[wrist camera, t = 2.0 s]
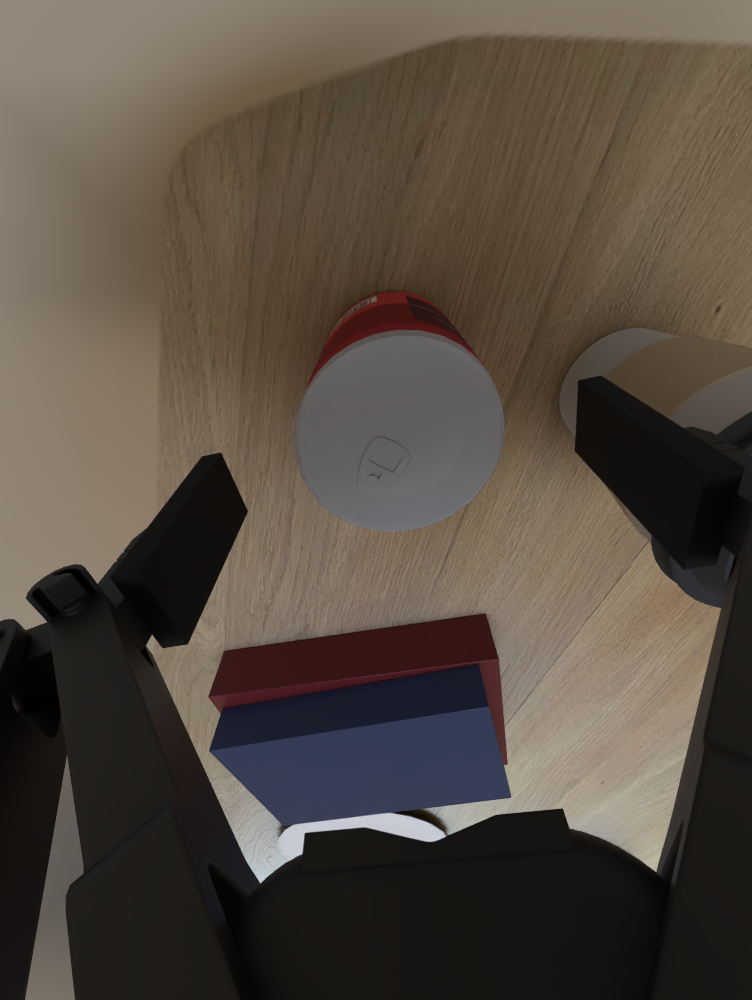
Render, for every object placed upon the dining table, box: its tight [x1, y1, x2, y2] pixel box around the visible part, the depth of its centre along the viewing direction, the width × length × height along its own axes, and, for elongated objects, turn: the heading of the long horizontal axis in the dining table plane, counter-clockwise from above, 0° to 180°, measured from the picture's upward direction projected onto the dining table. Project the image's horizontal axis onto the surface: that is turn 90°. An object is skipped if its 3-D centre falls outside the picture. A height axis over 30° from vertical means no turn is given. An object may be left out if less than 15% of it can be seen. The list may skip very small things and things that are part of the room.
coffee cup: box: [559, 328, 752, 608], centre depth 19 cm, size 9×9×15 cm
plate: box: [278, 812, 447, 861], centre depth 62 cm, size 25×25×2 cm
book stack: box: [208, 614, 511, 826], centre depth 39 cm, size 17×24×8 cm
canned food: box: [295, 291, 505, 532], centre depth 20 cm, size 8×8×11 cm
